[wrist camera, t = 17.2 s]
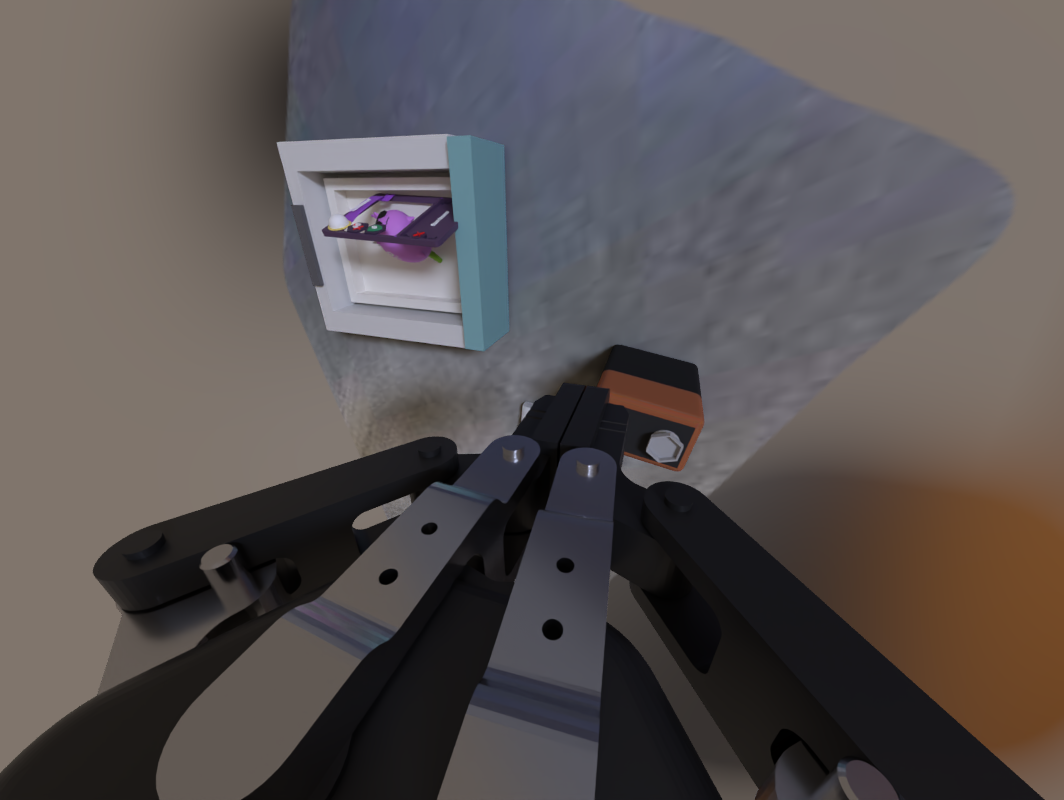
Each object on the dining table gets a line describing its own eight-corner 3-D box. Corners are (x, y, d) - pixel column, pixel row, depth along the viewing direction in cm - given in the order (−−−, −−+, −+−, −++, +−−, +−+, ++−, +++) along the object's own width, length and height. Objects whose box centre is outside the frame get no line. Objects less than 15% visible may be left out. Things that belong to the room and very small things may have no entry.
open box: (492, 329, 34) (464, 350, 29) (365, 315, 38) (323, 331, 33) (483, 143, 27) (445, 133, 23) (330, 149, 31) (271, 141, 27)
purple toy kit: (433, 229, 22) (314, 219, 25) (453, 304, 26) (348, 289, 29) (479, 188, 27) (373, 182, 29) (490, 257, 30) (395, 248, 33)
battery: (680, 409, 32) (681, 485, 23) (602, 386, 33) (577, 451, 25) (699, 363, 29) (708, 429, 21) (614, 341, 31) (592, 395, 23)
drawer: (509, 330, 33) (483, 351, 29) (375, 315, 37) (335, 331, 33) (504, 145, 26) (470, 135, 22) (342, 151, 30) (287, 143, 26)
